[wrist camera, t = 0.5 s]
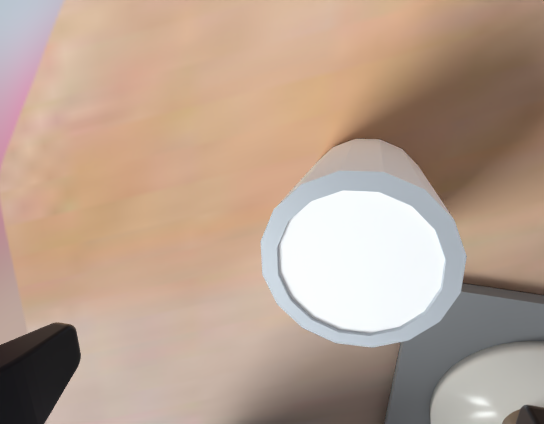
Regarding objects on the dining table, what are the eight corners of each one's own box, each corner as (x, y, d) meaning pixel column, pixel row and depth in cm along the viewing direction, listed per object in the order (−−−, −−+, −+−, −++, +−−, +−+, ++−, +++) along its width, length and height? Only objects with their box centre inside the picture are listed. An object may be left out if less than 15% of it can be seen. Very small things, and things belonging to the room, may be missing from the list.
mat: (623, 521, 25) (631, 535, 24) (376, 462, 27) (375, 474, 27) (740, 324, 19) (755, 336, 18) (414, 275, 22) (415, 284, 21)
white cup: (308, 110, 20) (274, 149, 13) (461, 141, 19) (501, 199, 12) (284, 239, 23) (247, 320, 16) (415, 272, 22) (429, 371, 15)
